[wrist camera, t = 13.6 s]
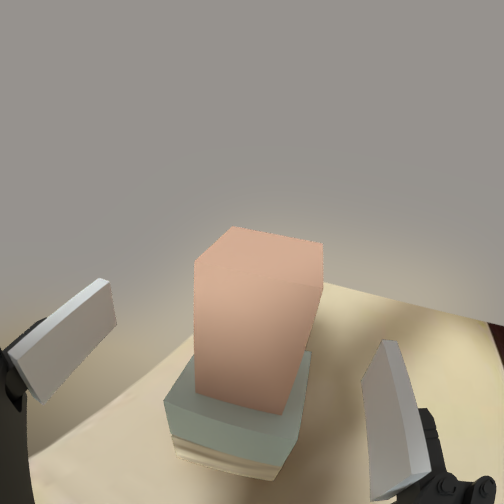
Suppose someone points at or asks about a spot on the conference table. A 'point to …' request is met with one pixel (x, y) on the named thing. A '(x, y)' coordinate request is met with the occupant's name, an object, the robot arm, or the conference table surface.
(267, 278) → the tall block
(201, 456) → the tower base block
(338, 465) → the conference table surface
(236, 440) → the tower upper block
